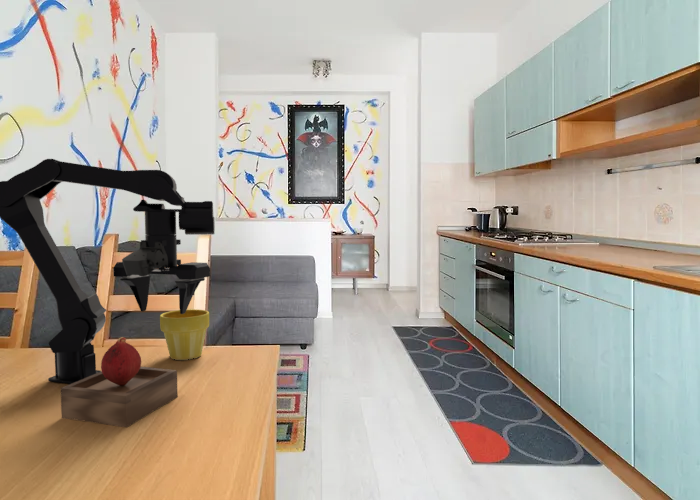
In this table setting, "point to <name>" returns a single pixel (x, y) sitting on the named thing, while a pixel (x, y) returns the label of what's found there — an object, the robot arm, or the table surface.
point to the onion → (120, 362)
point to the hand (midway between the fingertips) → (162, 312)
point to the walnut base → (118, 397)
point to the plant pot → (184, 332)
